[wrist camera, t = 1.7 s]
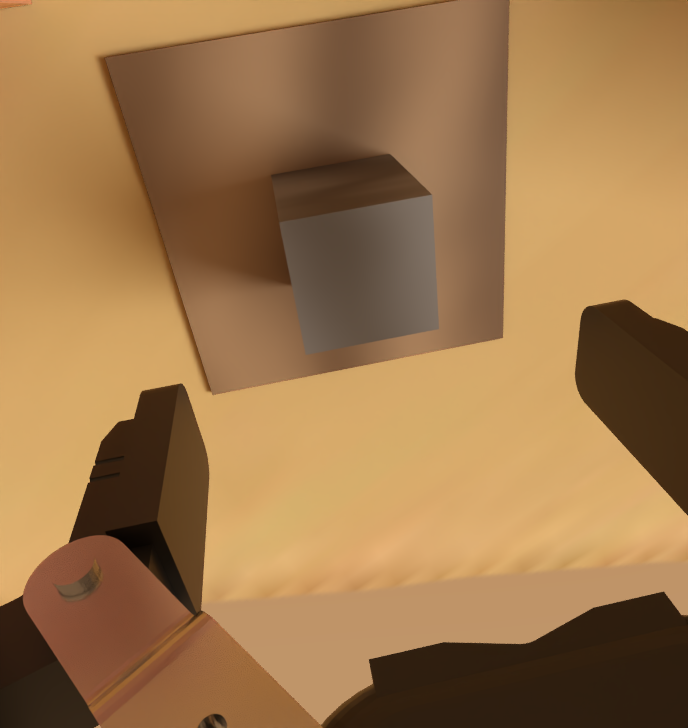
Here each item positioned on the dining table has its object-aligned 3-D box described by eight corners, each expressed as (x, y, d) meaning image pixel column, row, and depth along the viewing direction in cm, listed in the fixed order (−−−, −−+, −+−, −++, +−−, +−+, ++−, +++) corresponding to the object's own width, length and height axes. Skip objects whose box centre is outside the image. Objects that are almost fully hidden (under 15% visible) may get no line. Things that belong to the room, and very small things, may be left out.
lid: (499, -8, 18) (596, -14, 13) (495, 328, 24) (559, 409, 19) (110, 55, 17) (56, 74, 12) (213, 384, 23) (205, 482, 19)
